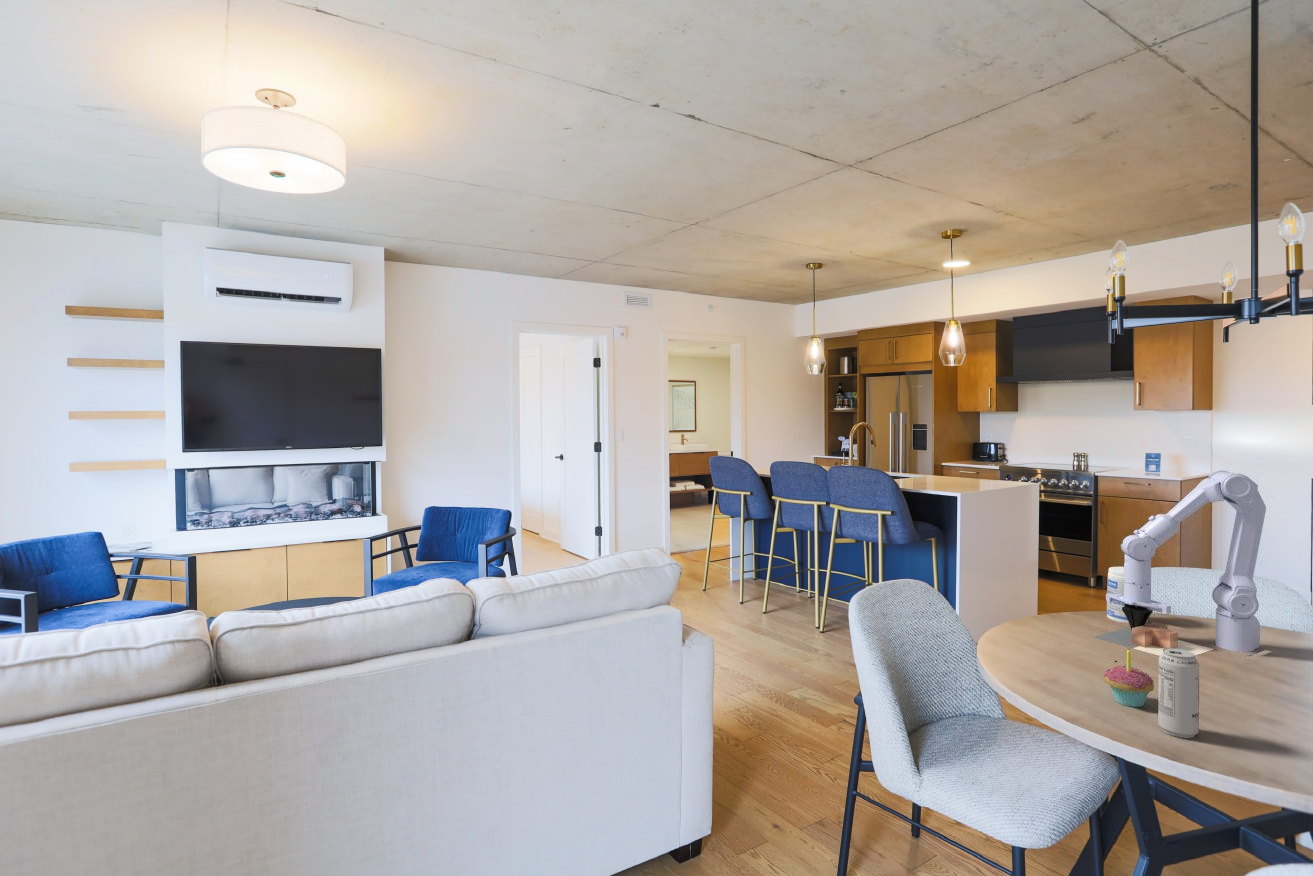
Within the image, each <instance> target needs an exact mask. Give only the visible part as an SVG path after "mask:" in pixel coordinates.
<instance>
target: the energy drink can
mask: <svg viewBox="0 0 1313 876" xmlns="http://www.w3.org/2000/svg"><path fill="white" fill-rule="evenodd" d="M1157 680H1158V687H1157V688H1158V702H1157V703H1158V707H1157V708H1158V709H1157V710H1158V711H1157V712H1158V715H1157V716H1158V720H1157V723H1158V725H1159V726H1160V727H1161V730H1162V731H1163V732H1164V733H1165V734H1167V735H1170V736H1172V737H1176V738H1181V739H1193V738H1195V737H1196V735H1197V734H1199V732H1200V663H1199V662H1198V660H1197V658H1196V655H1195V654H1194V653H1192V652H1190V651H1187V650H1182V649H1176V648H1165V649H1163V653H1162V654H1161V655H1160V656H1158V679H1157Z"/></svg>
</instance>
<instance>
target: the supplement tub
mask: <svg viewBox="0 0 1313 876" xmlns="http://www.w3.org/2000/svg"><path fill="white" fill-rule="evenodd" d="M1107 572H1108V573H1107V587H1106V588H1107V591H1106V594H1107V593H1114V594H1121V595H1124V566H1111V567H1109V568H1108V571H1107ZM1124 606H1125V604H1121V603H1117V602H1113V601H1111V602H1109V601H1106V617H1107V619H1109V620H1112V621H1115V622H1119V623H1123V624H1129V621H1128V619H1127V617H1126V615H1125V614H1124V612H1123V611H1122V607H1124ZM1146 623H1147V624H1148V621H1147V622H1146Z"/></svg>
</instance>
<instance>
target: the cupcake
mask: <svg viewBox="0 0 1313 876" xmlns="http://www.w3.org/2000/svg"><path fill="white" fill-rule="evenodd" d="M1127 649H1128V650H1126V665H1118V666H1114V667H1111V668H1108V669H1107V670H1106V671H1105V672H1104V673H1103V681H1104V682H1105V683H1107V685H1109V687H1110V689H1111V691H1112V693H1113V694H1112V695H1113V696H1114V699H1115V701H1116V703H1118V704H1120V705H1124V706H1126V707H1127V706H1128V707H1130V708H1131V707H1132V708H1140V707H1143V706H1144V704H1145V701H1146V699H1147V696H1148V695H1149V693H1150V692H1152V691H1154V690H1155V685H1154V683H1155V682H1154V679H1152V677H1151V676H1149V674H1148V673H1147V672H1143V670H1139V668H1136V667H1134V666H1133V667H1132V662H1131V659H1132V654H1131V653H1132V650H1130V647H1127Z"/></svg>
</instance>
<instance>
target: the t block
mask: <svg viewBox="0 0 1313 876" xmlns="http://www.w3.org/2000/svg"><path fill="white" fill-rule="evenodd" d="M1168 628H1169V627H1168V625H1167V624H1163V623H1159V622H1155V621H1154V622H1151V623H1147V624H1145V625H1143V626H1139V627H1135V628H1132V644H1134V645H1137V646H1141V647H1148V646H1152V645H1153V646H1156V647H1160V648H1164V649H1165V648H1178V640H1179V631H1175V630H1172V629H1168Z"/></svg>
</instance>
